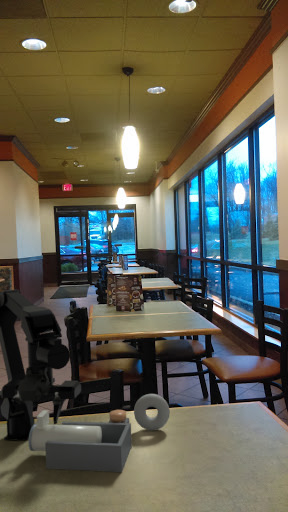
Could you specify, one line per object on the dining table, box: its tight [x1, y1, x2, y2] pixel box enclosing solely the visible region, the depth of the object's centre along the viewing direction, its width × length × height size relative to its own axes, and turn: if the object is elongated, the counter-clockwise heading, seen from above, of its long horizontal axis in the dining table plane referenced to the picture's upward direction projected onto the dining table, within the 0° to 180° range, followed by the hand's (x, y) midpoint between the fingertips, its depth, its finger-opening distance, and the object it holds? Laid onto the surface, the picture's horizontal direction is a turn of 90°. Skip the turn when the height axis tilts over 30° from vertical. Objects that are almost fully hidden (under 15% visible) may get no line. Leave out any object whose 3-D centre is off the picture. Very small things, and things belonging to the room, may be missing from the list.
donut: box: [133, 393, 171, 432], centre depth 114 cm, size 10×4×10 cm, turn 86°
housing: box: [45, 417, 133, 473], centre depth 103 cm, size 18×18×6 cm
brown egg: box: [108, 409, 127, 423], centre depth 109 cm, size 4×4×6 cm
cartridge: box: [28, 409, 102, 452], centre depth 102 cm, size 17×6×9 cm, turn 81°
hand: (43, 423), depth 102 cm, fingers open, 6 cm apart
